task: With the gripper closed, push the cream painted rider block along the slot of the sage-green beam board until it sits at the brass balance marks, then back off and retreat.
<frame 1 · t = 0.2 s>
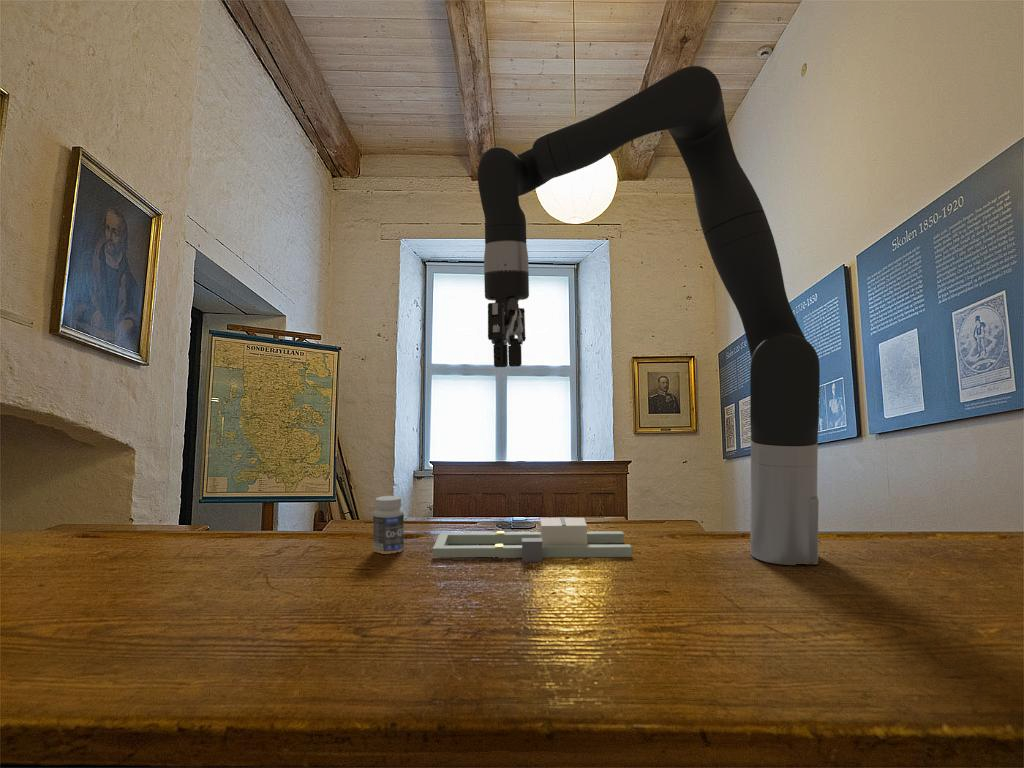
hand: (508, 366, 116), 29 cm above the table, fingers open, 8 cm apart
slotted beam: (531, 548, 107), on the table
balance mark: (499, 549, 107), resting on slotted beam
rider: (563, 550, 107), resting in slotted beam
pill bottle: (389, 552, 107), on the table
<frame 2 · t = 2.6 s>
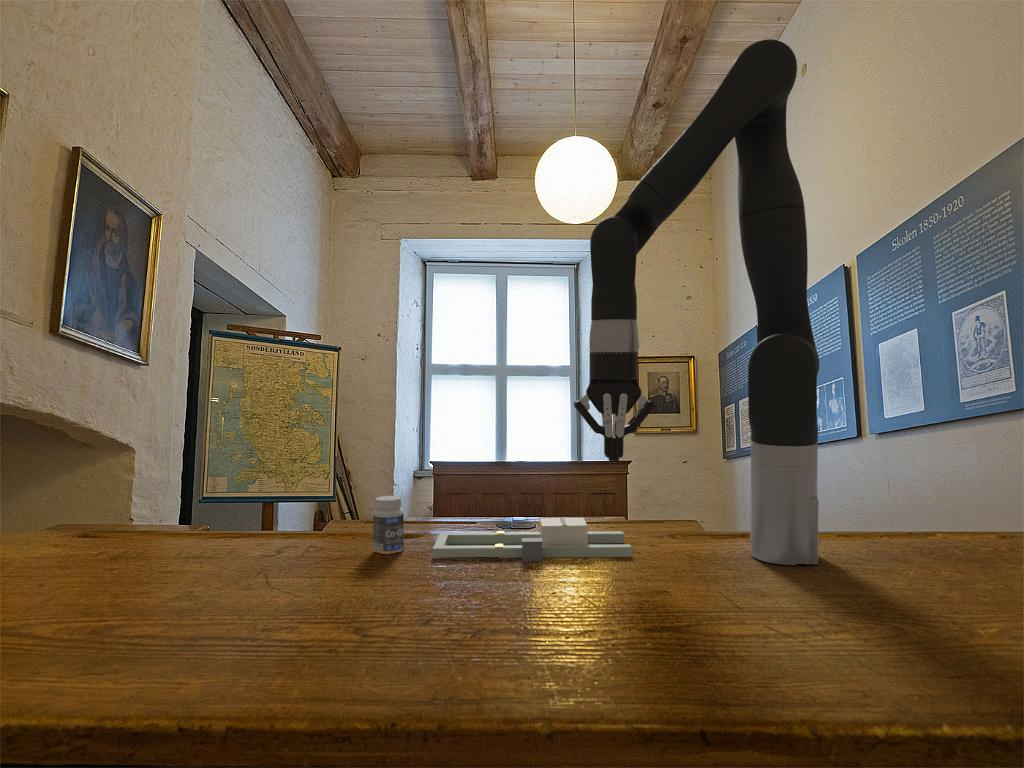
hand: (613, 460, 107), 14 cm above the table, fingers closed
nothing on the table moved.
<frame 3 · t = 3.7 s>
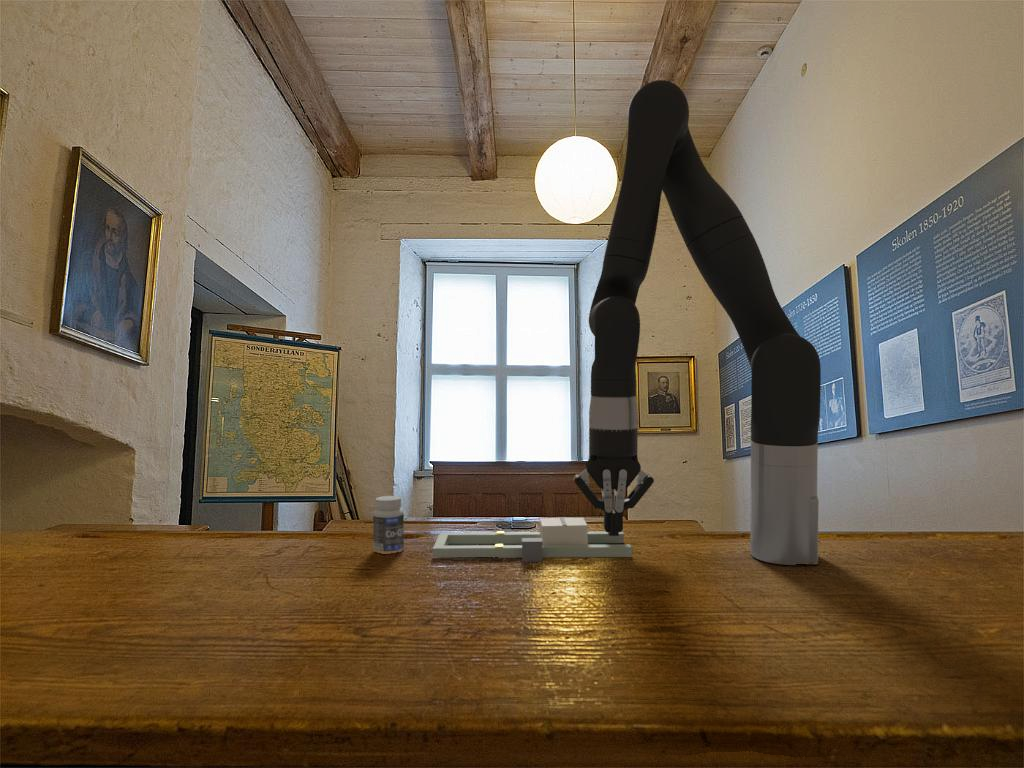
hand: (613, 534, 107), 2 cm above the table, fingers closed
nothing on the table moved.
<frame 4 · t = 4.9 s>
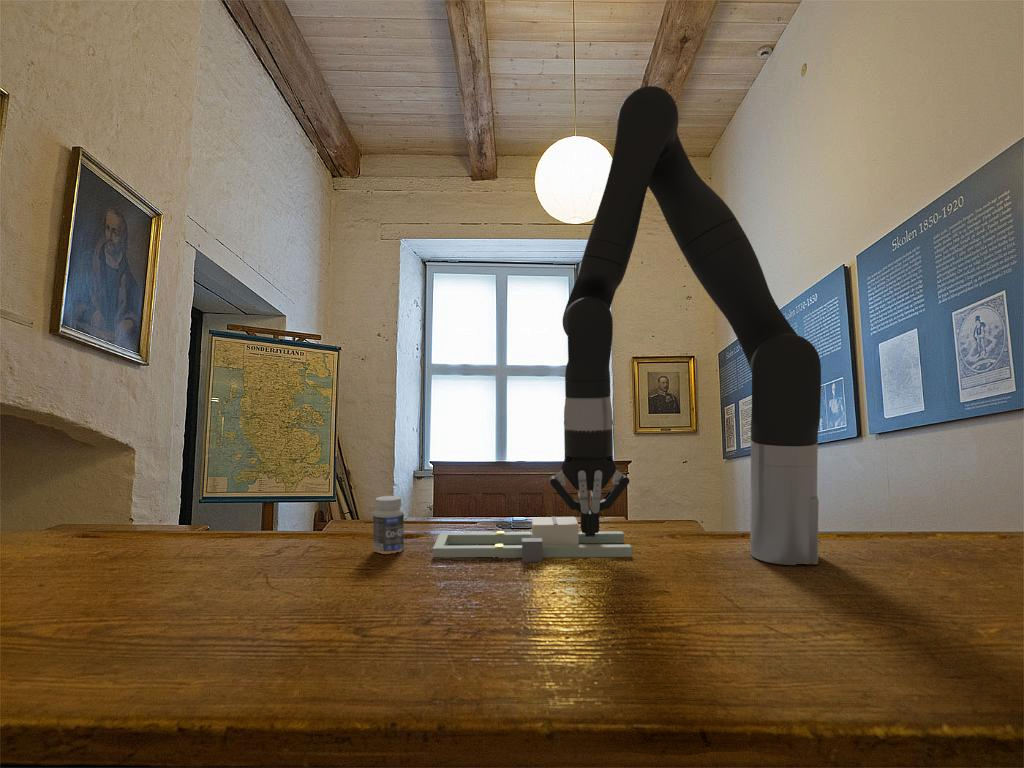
hand: (589, 535, 107), 2 cm above the table, fingers closed
rider: (554, 549, 107), resting in slotted beam, touching gripper
everything else where it was.
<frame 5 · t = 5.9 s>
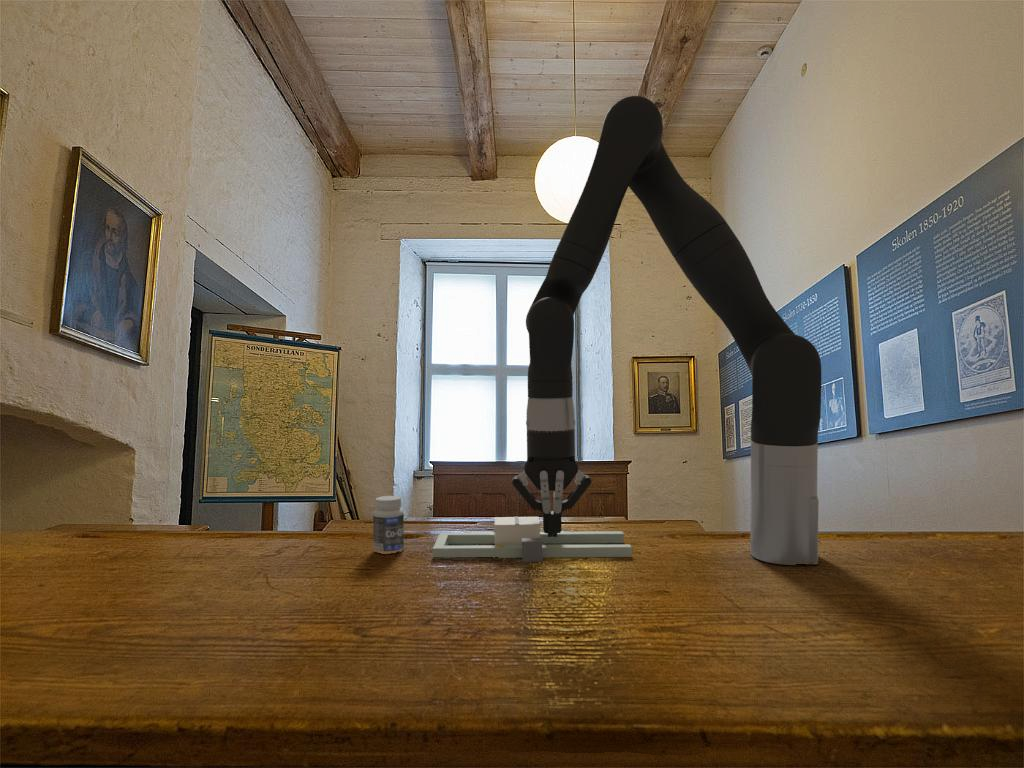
hand: (552, 535, 107), 2 cm above the table, fingers closed
rider: (517, 548, 107), resting in slotted beam, touching gripper
everything else where it was.
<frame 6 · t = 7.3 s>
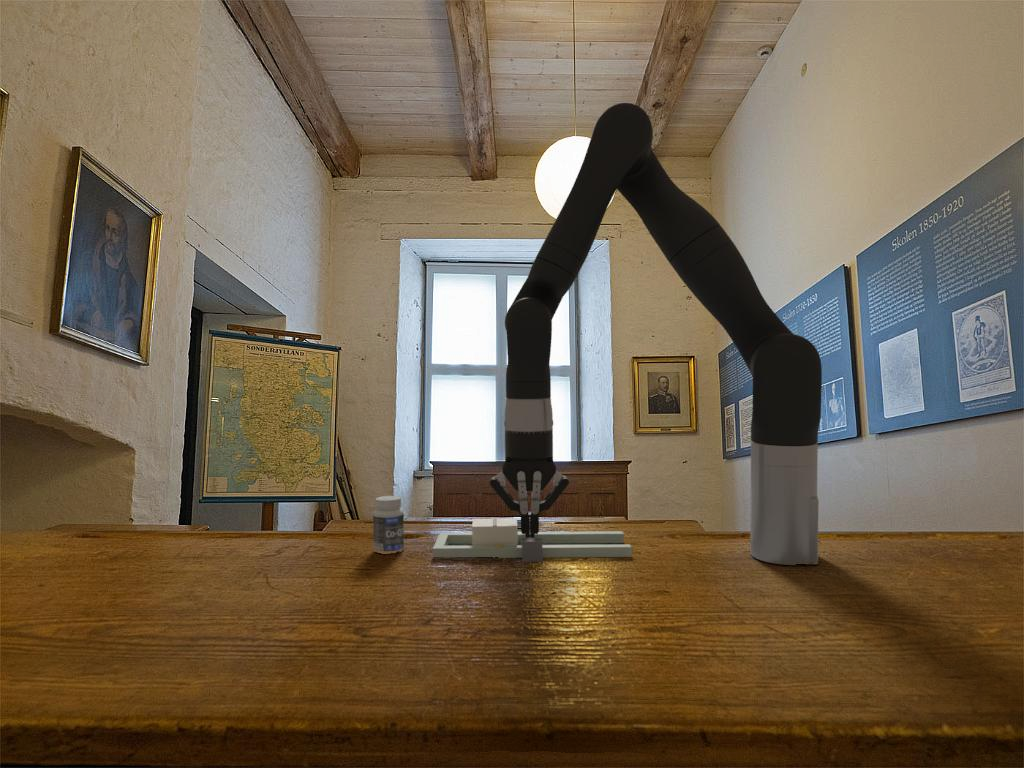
hand: (529, 536, 107), 2 cm above the table, fingers closed
rider: (495, 550, 107), resting in slotted beam, touching gripper
everything else where it was.
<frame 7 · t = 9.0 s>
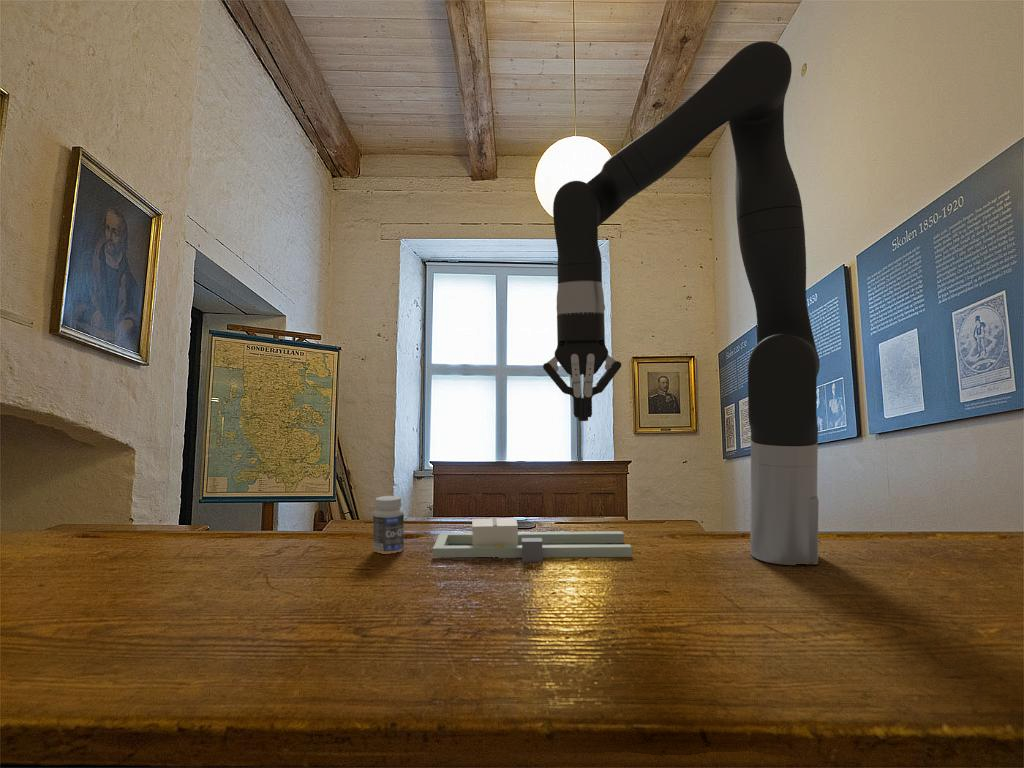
hand: (582, 420, 109), 20 cm above the table, fingers closed
rider: (494, 550, 107), resting in slotted beam
everything else where it was.
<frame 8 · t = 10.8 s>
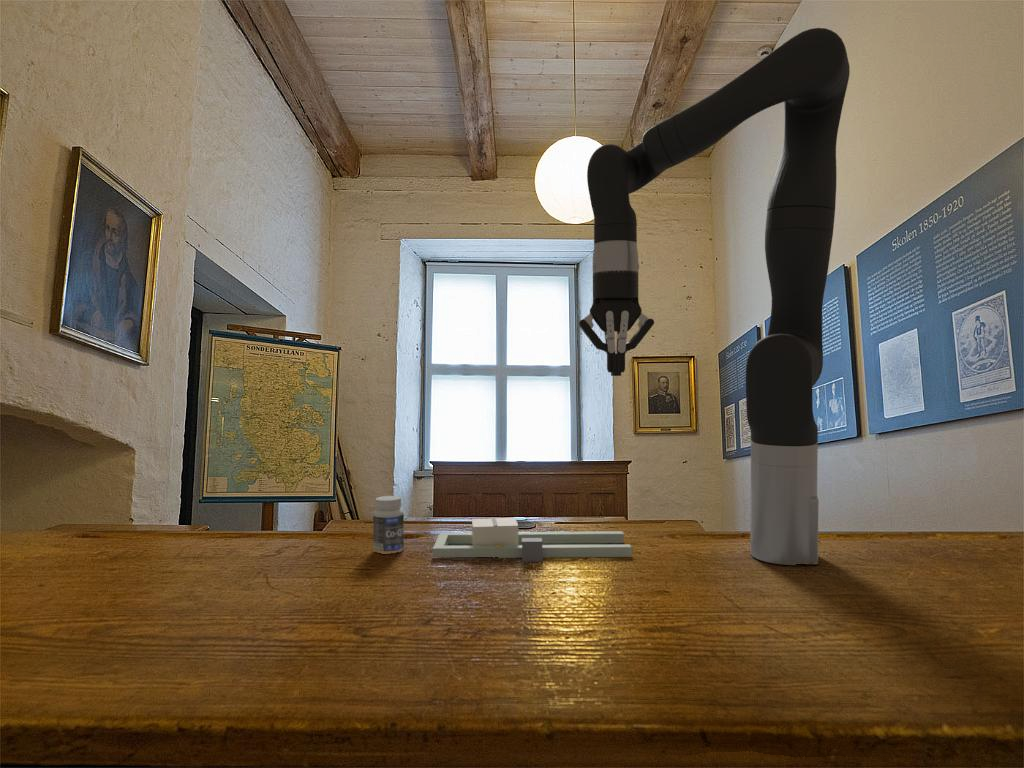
hand: (615, 375, 113), 27 cm above the table, fingers closed
nothing on the table moved.
at the end: rider 0.8 cm from the balance mark (horizontally); rider tilted 0°; rider moved 10.8 cm from its start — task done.
